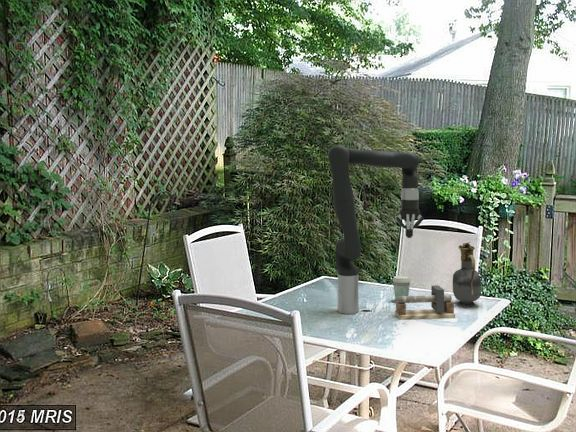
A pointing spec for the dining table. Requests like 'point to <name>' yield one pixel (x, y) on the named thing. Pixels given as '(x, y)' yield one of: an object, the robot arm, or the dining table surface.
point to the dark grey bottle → (467, 278)
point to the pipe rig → (426, 313)
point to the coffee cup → (401, 286)
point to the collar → (438, 298)
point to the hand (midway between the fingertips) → (409, 237)
